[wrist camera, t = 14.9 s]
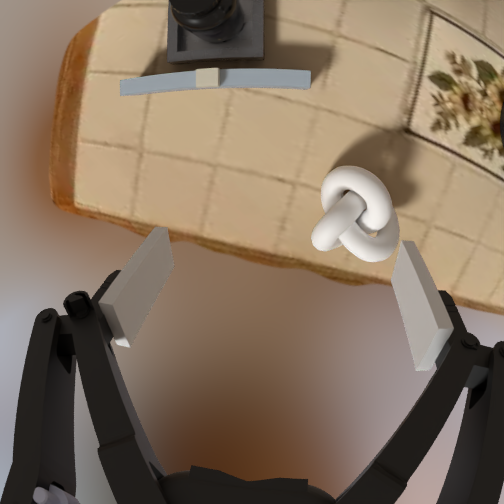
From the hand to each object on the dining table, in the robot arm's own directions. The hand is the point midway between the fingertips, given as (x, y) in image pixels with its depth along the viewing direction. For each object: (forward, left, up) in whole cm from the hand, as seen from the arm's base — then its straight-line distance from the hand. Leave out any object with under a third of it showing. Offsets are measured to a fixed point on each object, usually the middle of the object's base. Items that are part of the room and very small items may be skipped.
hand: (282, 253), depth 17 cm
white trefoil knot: (-9, +6, -25) cm, 27 cm away
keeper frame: (+8, -19, -25) cm, 33 cm away
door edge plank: (+8, -11, -25) cm, 28 cm away
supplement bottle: (+8, -19, -25) cm, 32 cm away
